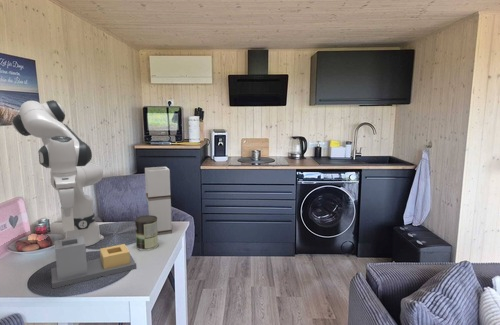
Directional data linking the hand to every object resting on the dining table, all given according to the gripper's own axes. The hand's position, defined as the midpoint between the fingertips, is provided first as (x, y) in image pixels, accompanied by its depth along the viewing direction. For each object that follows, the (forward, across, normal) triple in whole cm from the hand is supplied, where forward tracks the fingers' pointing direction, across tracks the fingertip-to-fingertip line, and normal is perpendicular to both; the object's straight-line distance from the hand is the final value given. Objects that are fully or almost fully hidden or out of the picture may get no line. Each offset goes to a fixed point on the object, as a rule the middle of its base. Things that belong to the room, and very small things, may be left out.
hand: (67, 214), depth 125 cm
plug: (+6, 0, 0) cm, 6 cm away
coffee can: (+26, -14, +33) cm, 44 cm away
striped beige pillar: (+26, -31, +44) cm, 60 cm away
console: (+25, 0, +8) cm, 27 cm away
